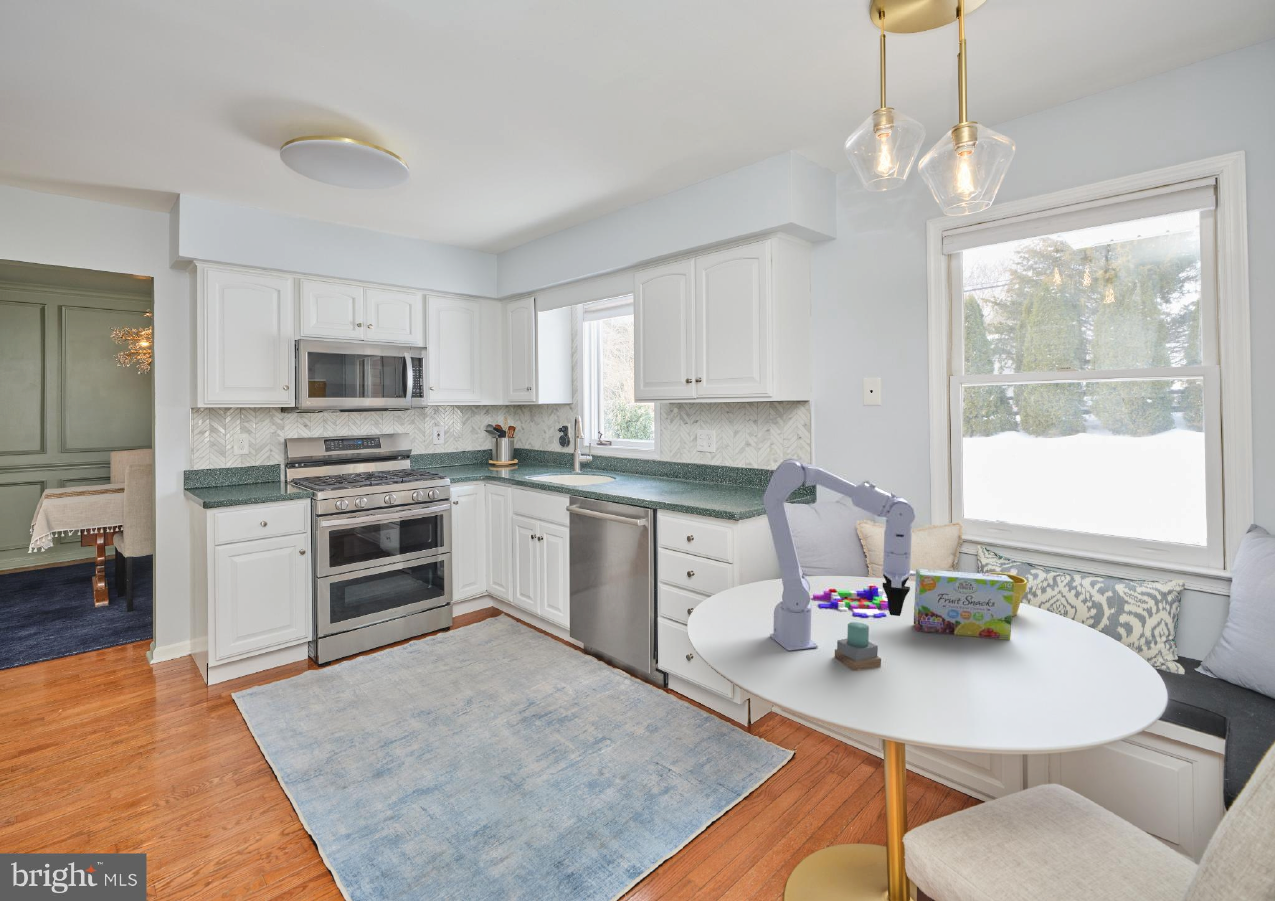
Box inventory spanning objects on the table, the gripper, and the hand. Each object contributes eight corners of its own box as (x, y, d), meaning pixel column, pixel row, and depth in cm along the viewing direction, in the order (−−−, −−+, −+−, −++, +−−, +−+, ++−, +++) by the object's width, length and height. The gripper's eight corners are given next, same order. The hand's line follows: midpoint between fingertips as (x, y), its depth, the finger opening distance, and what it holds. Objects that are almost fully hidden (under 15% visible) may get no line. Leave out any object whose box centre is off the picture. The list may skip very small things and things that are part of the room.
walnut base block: (834, 659, 140) (834, 649, 140) (861, 656, 142) (861, 645, 142) (852, 673, 133) (853, 661, 133) (880, 669, 135) (881, 658, 135)
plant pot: (1018, 622, 162) (1020, 585, 161) (975, 611, 169) (977, 577, 168) (1030, 612, 169) (1032, 577, 168) (988, 603, 176) (990, 569, 175)
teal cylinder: (843, 640, 138) (843, 623, 138) (860, 638, 139) (860, 621, 139) (854, 647, 134) (855, 630, 134) (872, 646, 135) (873, 628, 135)
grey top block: (837, 650, 139) (837, 640, 138) (857, 646, 141) (857, 636, 141) (856, 661, 133) (856, 650, 133) (877, 656, 136) (877, 645, 135)
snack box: (917, 632, 155) (920, 574, 153) (913, 624, 160) (915, 567, 159) (1011, 640, 150) (1015, 580, 148) (1003, 632, 155) (1007, 573, 154)
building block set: (828, 619, 165) (828, 603, 165) (808, 594, 185) (808, 580, 185) (922, 620, 165) (922, 603, 164) (891, 595, 185) (892, 580, 185)
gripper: (917, 561, 131) (915, 622, 133) (915, 545, 145) (913, 602, 146) (882, 557, 134) (880, 618, 135) (883, 543, 148) (881, 598, 149)
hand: (894, 609), depth 141 cm, fingers open, 7 cm apart
